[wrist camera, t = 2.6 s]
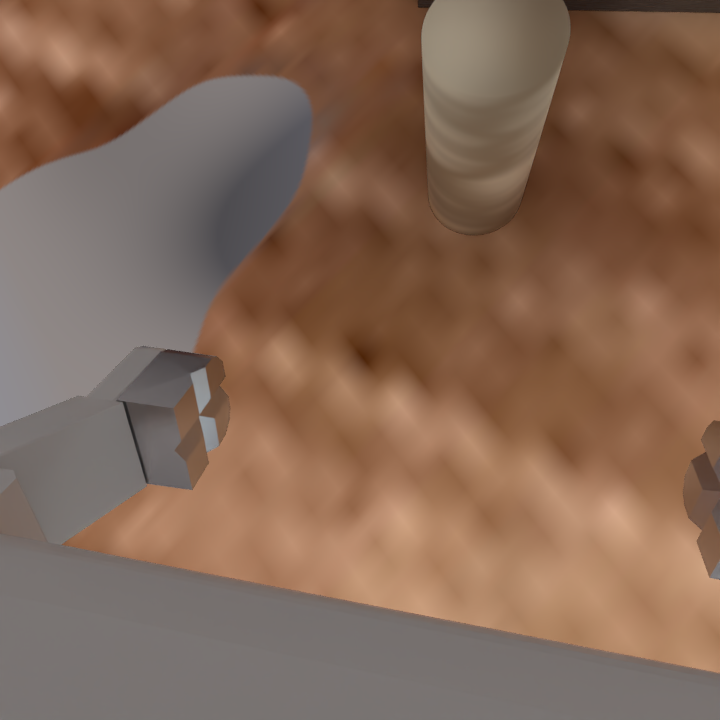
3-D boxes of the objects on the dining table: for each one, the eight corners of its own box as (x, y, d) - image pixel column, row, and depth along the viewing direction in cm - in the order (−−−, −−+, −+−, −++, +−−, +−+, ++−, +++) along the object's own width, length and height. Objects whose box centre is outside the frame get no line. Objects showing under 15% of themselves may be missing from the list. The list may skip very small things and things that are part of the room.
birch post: (422, 231, 27) (412, 92, 17) (434, 146, 27) (431, -32, 18) (517, 239, 26) (564, 99, 16) (527, 152, 27) (576, -31, 17)
